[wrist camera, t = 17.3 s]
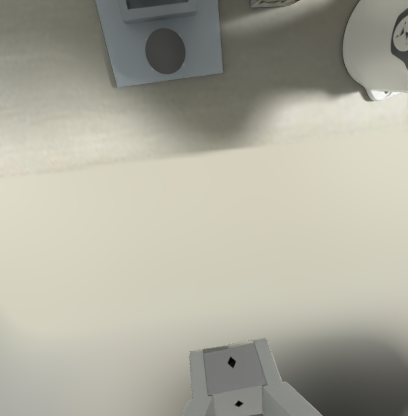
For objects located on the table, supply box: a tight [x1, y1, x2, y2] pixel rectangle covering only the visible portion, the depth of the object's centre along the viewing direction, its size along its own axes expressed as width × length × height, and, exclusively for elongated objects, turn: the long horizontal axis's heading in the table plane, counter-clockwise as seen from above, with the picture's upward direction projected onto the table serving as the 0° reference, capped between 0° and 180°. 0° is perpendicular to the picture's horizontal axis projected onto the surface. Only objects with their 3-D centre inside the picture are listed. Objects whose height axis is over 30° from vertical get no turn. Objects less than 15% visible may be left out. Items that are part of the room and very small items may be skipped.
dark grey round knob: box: [145, 28, 186, 74], centre depth 35 cm, size 5×5×5 cm
